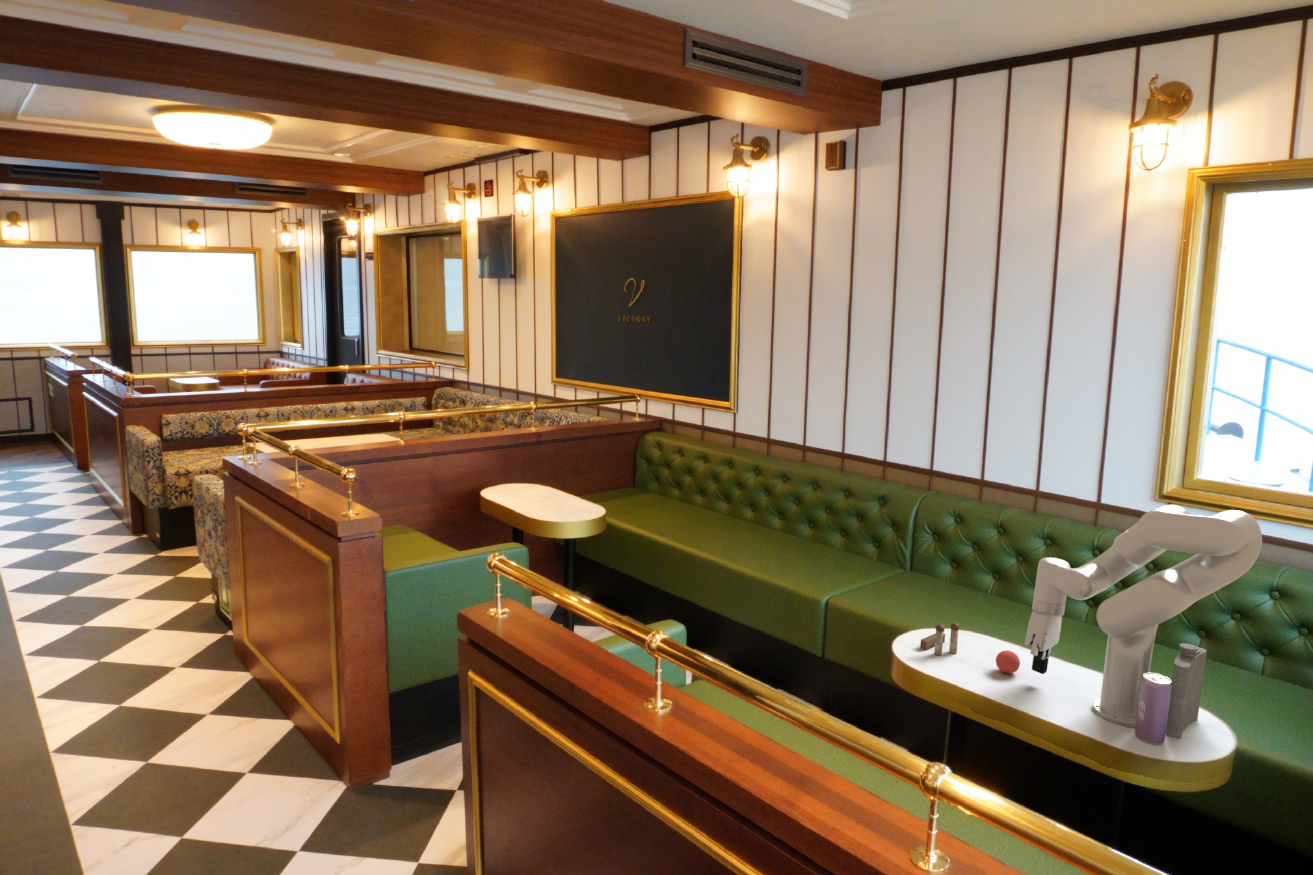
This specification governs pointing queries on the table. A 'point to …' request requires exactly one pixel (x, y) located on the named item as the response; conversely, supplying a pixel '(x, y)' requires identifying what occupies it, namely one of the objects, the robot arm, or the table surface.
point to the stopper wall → (929, 642)
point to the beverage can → (1153, 708)
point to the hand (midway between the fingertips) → (1039, 671)
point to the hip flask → (1185, 689)
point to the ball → (1007, 661)
